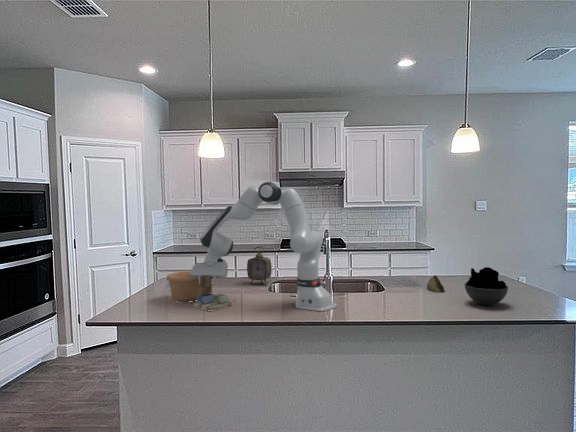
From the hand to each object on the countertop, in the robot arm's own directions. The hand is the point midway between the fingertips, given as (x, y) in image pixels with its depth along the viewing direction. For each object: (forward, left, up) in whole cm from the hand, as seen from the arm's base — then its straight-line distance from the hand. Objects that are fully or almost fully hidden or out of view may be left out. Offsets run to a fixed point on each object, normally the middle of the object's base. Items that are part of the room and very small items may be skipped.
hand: (205, 284), depth 214 cm
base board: (-2, -3, -12) cm, 12 cm away
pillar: (0, -1, -5) cm, 5 cm away
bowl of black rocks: (-113, -93, -12) cm, 146 cm away
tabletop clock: (+16, -56, -12) cm, 59 cm away
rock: (-81, -107, -12) cm, 134 cm away
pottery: (+21, -3, -12) cm, 25 cm away
